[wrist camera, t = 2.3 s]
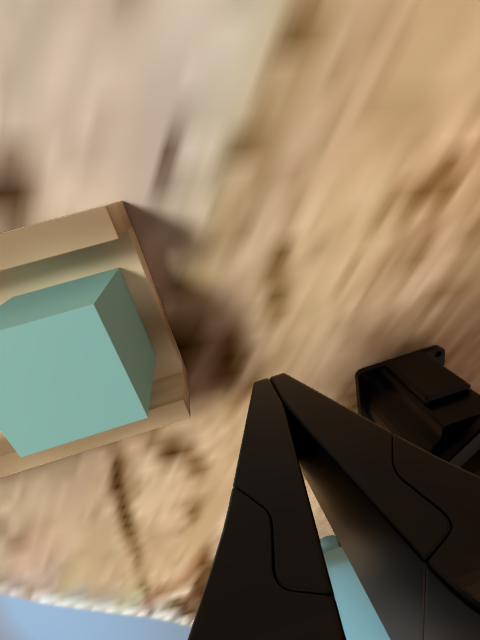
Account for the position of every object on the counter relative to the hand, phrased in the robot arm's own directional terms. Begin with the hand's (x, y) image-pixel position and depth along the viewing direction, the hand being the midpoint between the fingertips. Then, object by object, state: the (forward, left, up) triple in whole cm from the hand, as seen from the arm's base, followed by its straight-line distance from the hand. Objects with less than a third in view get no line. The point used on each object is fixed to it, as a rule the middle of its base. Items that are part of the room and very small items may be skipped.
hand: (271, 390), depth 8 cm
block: (0, +7, -9) cm, 11 cm away
